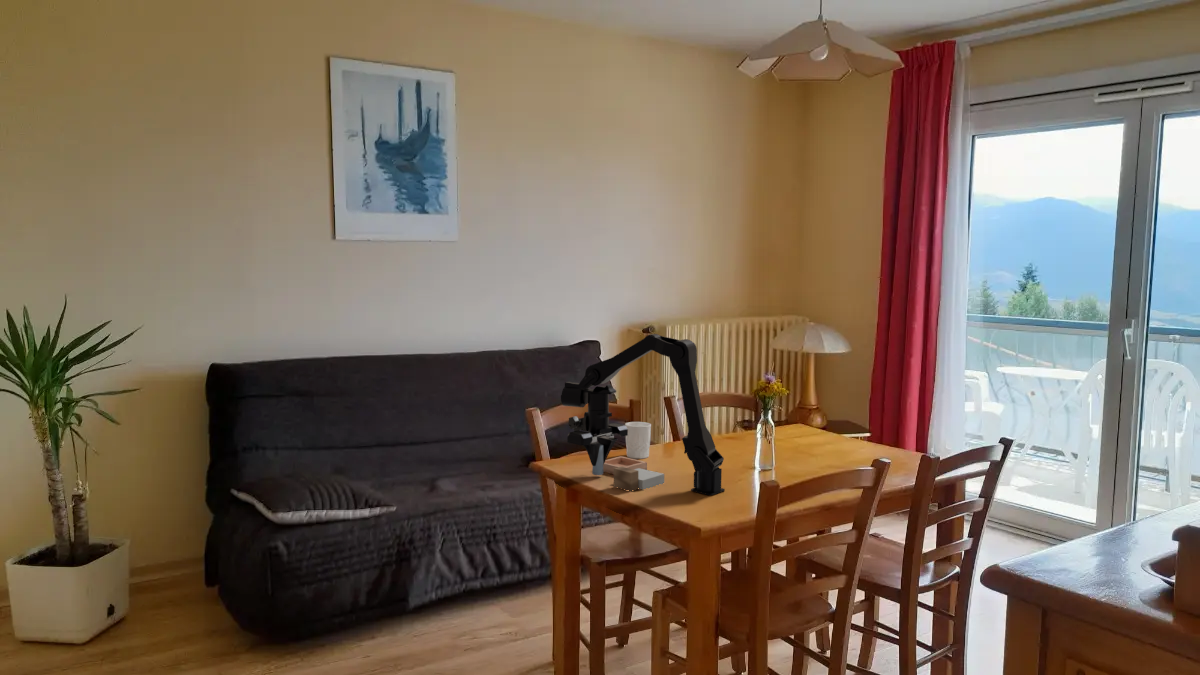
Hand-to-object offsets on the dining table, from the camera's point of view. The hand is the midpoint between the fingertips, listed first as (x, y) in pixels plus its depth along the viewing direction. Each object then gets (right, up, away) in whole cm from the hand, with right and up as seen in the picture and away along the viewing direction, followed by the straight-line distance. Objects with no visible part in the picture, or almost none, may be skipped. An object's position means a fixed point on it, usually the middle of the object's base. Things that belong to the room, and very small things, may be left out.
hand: (597, 464), depth 226 cm
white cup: (+12, -2, +25) cm, 27 cm away
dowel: (0, -3, 0) cm, 3 cm away
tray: (+7, -3, +8) cm, 11 cm away
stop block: (+7, -5, -11) cm, 14 cm away
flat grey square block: (+12, -5, -6) cm, 14 cm away
